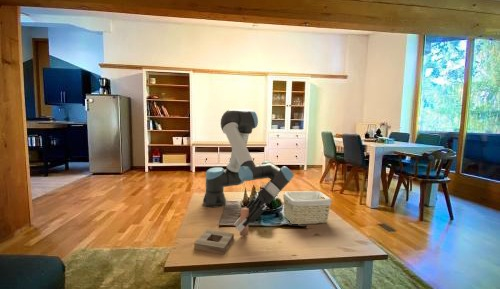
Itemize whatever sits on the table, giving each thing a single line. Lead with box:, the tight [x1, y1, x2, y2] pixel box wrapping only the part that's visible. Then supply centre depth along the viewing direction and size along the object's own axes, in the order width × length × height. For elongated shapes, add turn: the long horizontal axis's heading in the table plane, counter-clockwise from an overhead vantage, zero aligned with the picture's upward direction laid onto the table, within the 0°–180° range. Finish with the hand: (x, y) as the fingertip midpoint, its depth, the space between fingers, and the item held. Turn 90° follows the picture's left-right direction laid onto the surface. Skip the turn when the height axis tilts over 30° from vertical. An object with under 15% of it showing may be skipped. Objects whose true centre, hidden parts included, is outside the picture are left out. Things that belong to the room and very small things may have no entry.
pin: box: [239, 207, 250, 237], centre depth 129 cm, size 4×4×13 cm
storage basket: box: [282, 190, 333, 225], centre depth 152 cm, size 24×16×15 cm
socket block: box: [193, 229, 235, 255], centre depth 122 cm, size 14×14×3 cm
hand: (236, 228), depth 128 cm, fingers closed on pin, 4 cm apart
